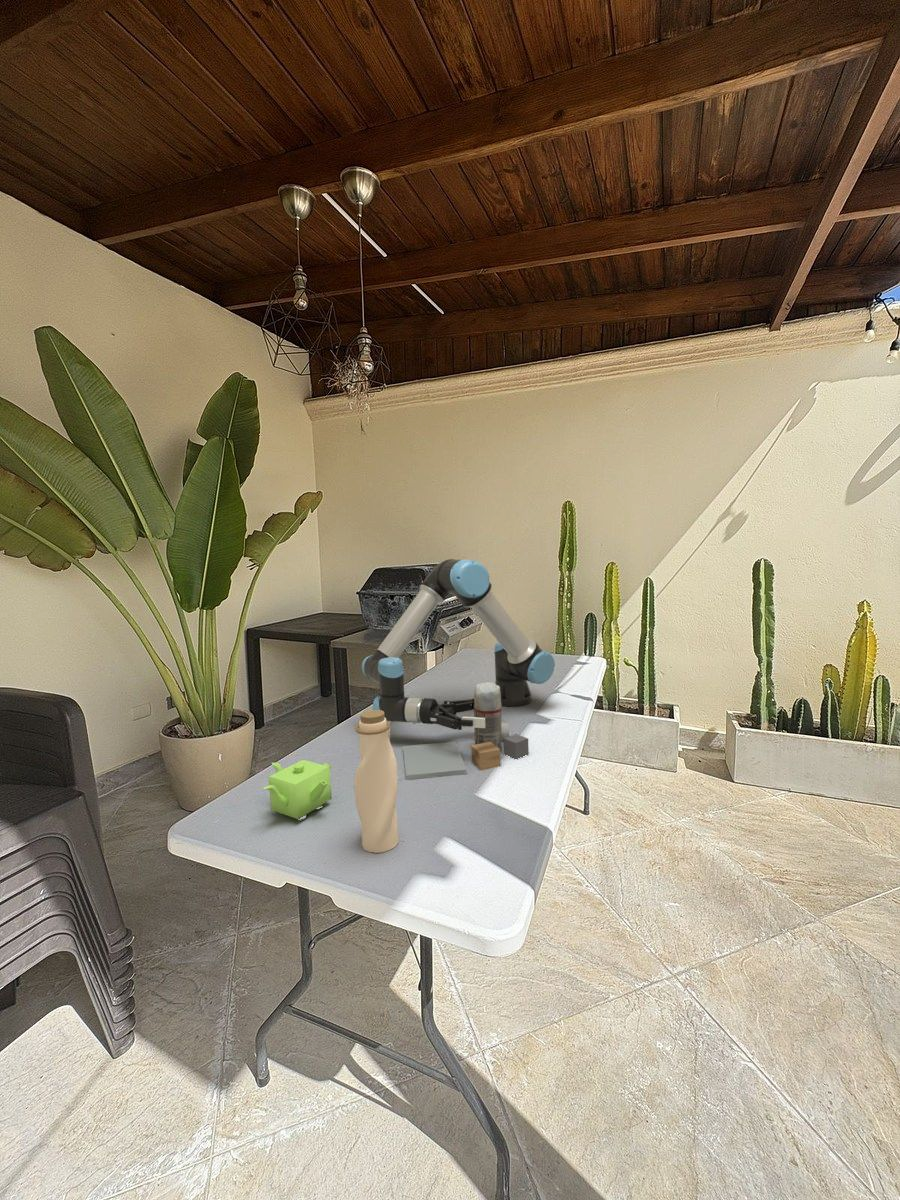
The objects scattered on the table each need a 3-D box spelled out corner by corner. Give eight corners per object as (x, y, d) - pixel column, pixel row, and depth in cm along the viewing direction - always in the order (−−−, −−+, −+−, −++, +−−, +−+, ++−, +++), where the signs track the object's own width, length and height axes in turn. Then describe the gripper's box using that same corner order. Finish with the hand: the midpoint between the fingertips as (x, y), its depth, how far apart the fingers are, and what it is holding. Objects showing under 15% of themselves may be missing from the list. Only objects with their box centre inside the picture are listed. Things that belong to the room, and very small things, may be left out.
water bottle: (360, 828, 117) (352, 706, 114) (401, 825, 118) (394, 703, 115) (356, 856, 107) (347, 722, 104) (401, 852, 108) (393, 719, 105)
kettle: (266, 831, 118) (262, 783, 117) (270, 801, 132) (266, 758, 131) (335, 819, 122) (332, 772, 121) (332, 791, 136) (329, 749, 134)
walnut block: (471, 762, 149) (471, 745, 149) (491, 758, 152) (490, 741, 151) (480, 771, 144) (480, 753, 143) (500, 766, 146) (500, 749, 145)
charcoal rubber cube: (503, 754, 154) (503, 738, 153) (516, 750, 157) (515, 733, 156) (516, 760, 150) (515, 743, 149) (528, 755, 153) (528, 738, 152)
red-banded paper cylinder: (506, 746, 159) (504, 681, 157) (497, 757, 152) (495, 689, 149) (480, 743, 163) (478, 679, 160) (470, 753, 155) (467, 687, 153)
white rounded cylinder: (487, 736, 168) (487, 720, 168) (506, 734, 169) (505, 719, 168) (491, 743, 162) (491, 727, 162) (511, 741, 163) (510, 725, 162)
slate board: (403, 750, 160) (402, 746, 160) (455, 745, 162) (455, 741, 162) (406, 779, 140) (406, 775, 140) (466, 773, 142) (466, 769, 142)
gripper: (436, 709, 174) (500, 713, 167) (407, 737, 150) (480, 743, 144) (435, 687, 173) (499, 690, 167) (406, 712, 150) (479, 717, 143)
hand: (490, 715), depth 155 cm, fingers open, 13 cm apart
